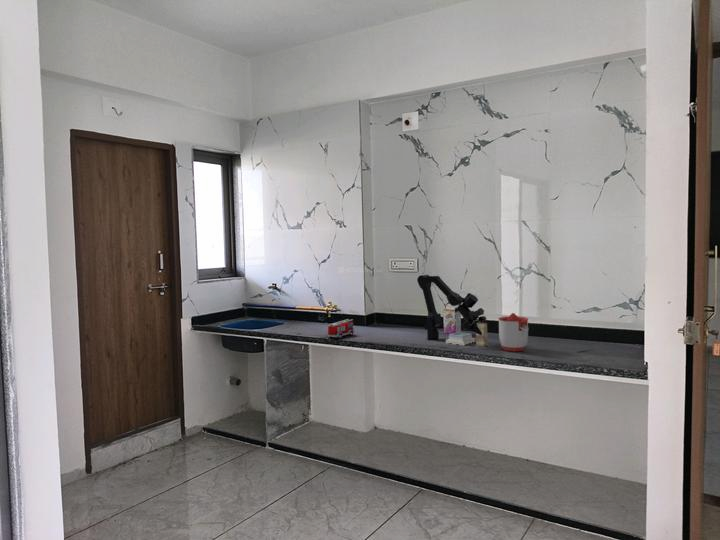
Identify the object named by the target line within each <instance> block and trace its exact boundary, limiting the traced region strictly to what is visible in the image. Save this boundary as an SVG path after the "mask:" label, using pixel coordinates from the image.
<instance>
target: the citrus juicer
mask: <svg viewBox="0 0 720 540" xmlns="http://www.w3.org/2000/svg"><path fill="white" fill-rule="evenodd" d="M498 338H499V342H500V345H501V348H502V350H503V351H506V352H507V351H509V352H512V351H513V353H515V352H521V351H525V350H526V347H527V344H528V338H529V318H528V317H524V316H517V315H516V314H515V313H514V312H512V313H510V315H509V316H501V317H498Z"/></svg>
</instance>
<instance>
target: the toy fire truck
mask: <svg viewBox="0 0 720 540" xmlns="http://www.w3.org/2000/svg"><path fill="white" fill-rule="evenodd" d="M353 321H354V319H349V318H346V319H344V320H340V321H337V322H333V323H330V324H327V329H328V330H327V331H328V332H327V334H326V336H327V337H329V338H331V337H332V338H337V339H339V338H341V339H342V338H343V336H347V335H348V336H349V337H352V336H351V335H354V334H355V329H354V323H355V322H353Z"/></svg>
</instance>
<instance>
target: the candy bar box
mask: <svg viewBox="0 0 720 540" xmlns="http://www.w3.org/2000/svg"><path fill="white" fill-rule="evenodd" d="M455 308H456V307H443V311H442V312H443V315H442V317H443V318H442V320H443V334H445V333H446V334H445V335H449V334H453V333H456V332H462V315H461V314H460V313H459V312H455Z"/></svg>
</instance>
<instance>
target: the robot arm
mask: <svg viewBox="0 0 720 540" xmlns="http://www.w3.org/2000/svg"><path fill="white" fill-rule="evenodd" d="M432 283H433V284H434V285H435V286H436V287H437V288H438V289H439V290H440V292H441V293H443V295H444V296H445V298H446V301H448V303H449V305H450V306H451V307H454V308H455V312H459V313H460V314H461V317H462V320H465V321H464V322H463V323H462V324H461V329H463V331H465V330H468V331H471V332H473V333H475V334H476V333H477V334H479V335H482V333H481V331H480V330H479V328H478V327H477V323H485V322H486V320H487V317H486V316H485V310H484V308H482V307H480V308H477V310H471V308H473V307H474V306H475V304H477V303H478V301H479V298H478V297H477V296H475V295H474V294H472V293H471V292H468V293H467V294H466V296H465V297H462V295H460V294H459V293H458V292H455V291H453V290H452V289H451V288H450V287H449V286H448V285H447V284H446V282H445V281H444V280H443V279H442V278H441V276H439V275H429V274H422V275H419V276H418V277H417V284H418V286H419V288H420V289H421V291H422V294H423V298H424V301H425V306H426V310H427V317H426V320H427V322H426V323H425V324H424V326H423V327H424V330H426V339H427V340H428V341H434V340H439V338H440V337H439V331H438V330H439V328H440V326H441V324H442V320H443V318H442V314H441V313H438V311H437V309H436V306H435V300H434V297H433V293H432V289H431V287H432Z"/></svg>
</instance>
